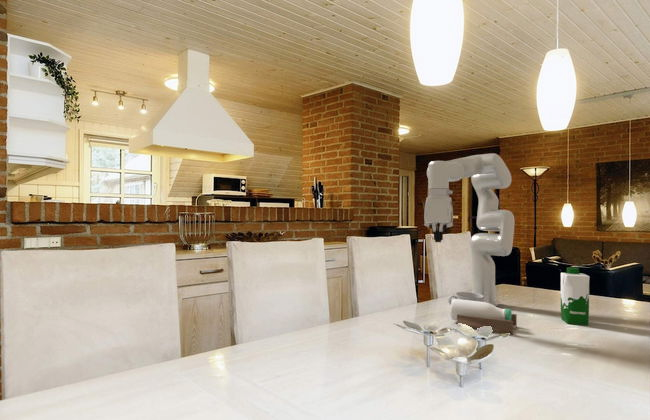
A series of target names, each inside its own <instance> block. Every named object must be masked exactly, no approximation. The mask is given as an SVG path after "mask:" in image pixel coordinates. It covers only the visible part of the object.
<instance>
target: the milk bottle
mask: <svg viewBox="0 0 650 420" xmlns="http://www.w3.org/2000/svg"><path fill="white" fill-rule="evenodd" d="M451 302H452V303H451V305H450V318H451V320H452V321H456V322H457V314H460V315H468V316H477V317H485V318H493V319H501V320H509V321H511V315H512V314H513V313H512V309H511V308H500V307H497V306H494V305H492V304H490V303H486V302H479V301H470V300H460V299H455V298H454V299H453V298H452V299H451Z"/></svg>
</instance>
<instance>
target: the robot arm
mask: <svg viewBox="0 0 650 420" xmlns="http://www.w3.org/2000/svg"><path fill="white" fill-rule="evenodd" d="M426 176H427V179H428V180H427V183H428V185H427V186H428V187H427V191H428V192H427V193H428V195H427V197H426V198H425V199H426V200H425V204H424V214H423V218H424V219H423V220H424V224H423V226H425V227H428V228H430V229H431V230H432V231H433V240H434V242H435V243H442V241H443V239H444V237H443V236H444V231H445V230H446V229H447V228H451V227H453V226H454V224H453V222H454V212H453V211H454V210H453V202H452V201H453V200H452V197H451V196H450V195H452V194H453V192H454V191H453V190H450V188H449V187H450V186H449V185H450V182H458V181H460V180H461V179H468V178H471V179H470V180H471V185H472V186H473V188H474V190H475V192H476V195H477V198H478V199H477V200H478V206H477V216H476V227H477V228H478V229H479V230H480V231H486V232H479V233H475V234H473V235H472V236H471V238H470V242H469V243H470V245H469V246H470V250H471V259H472V269H471V271H472V277H471V279H472V280H471V281H472V282H471V283H472V284H471V285H472V290H471V291H472V292H473V293H478V294H481V295H483V296H484V297H483V302H486V303H490V304H492V305H494V306H496V307H497V306H500V305H499V304H500V302H499V301H497V300H496V264H495V261H494V260H493V258H492V257H491V256H497V257H500V256H501V257H505V256H506V257H507V256H509V255H510V254H511V253H512V249H513V244H514V243H513V242H514V235H515V223H516V222H515V217H514V214H513V212H512V211H510V210H508V209H499V204H500V203H499V198H498V196H497V194H496V193H495V192H494V191H493V190H495V189H496V190H497V189H498V190H499V189H508V188H509V187H510V185H511V184H512V174H511V172H510V170H509V168H508V166H507V165H506V163H505V162H504V159H502V158H501V156H499V154H497V153H493V152H492V153H483V154H475V155H469V156H465V157H459V158H455V159H451V160H446V161H445V160H433V161H430V162H429V163H428V167H427V170H426ZM438 224H439V229H438ZM487 232H499V233H487Z"/></svg>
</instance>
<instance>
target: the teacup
mask: <svg viewBox="0 0 650 420" xmlns="http://www.w3.org/2000/svg"><path fill="white" fill-rule="evenodd" d="M483 297H484V296H483V295H481V294H478V293H473V292H470V291H457V292H455V294H451V295H449V296H448V298H447V301H448V304H449V305H450V306H451V303H452V299H453V298H454V299H460V300H470V301H479V302H483Z"/></svg>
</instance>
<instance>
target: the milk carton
mask: <svg viewBox="0 0 650 420" xmlns="http://www.w3.org/2000/svg"><path fill="white" fill-rule="evenodd" d="M590 277H591V276H589V275H587V274H585V273H581V272H580V268H579V267H571V266H570V267H566V271H565V272H560V316H561V320H562V321H563V322H564V321H565V322H564V323H566V324H567V325H580V326H589V321H590V320H589V319H590V318H589V316H590Z"/></svg>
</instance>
